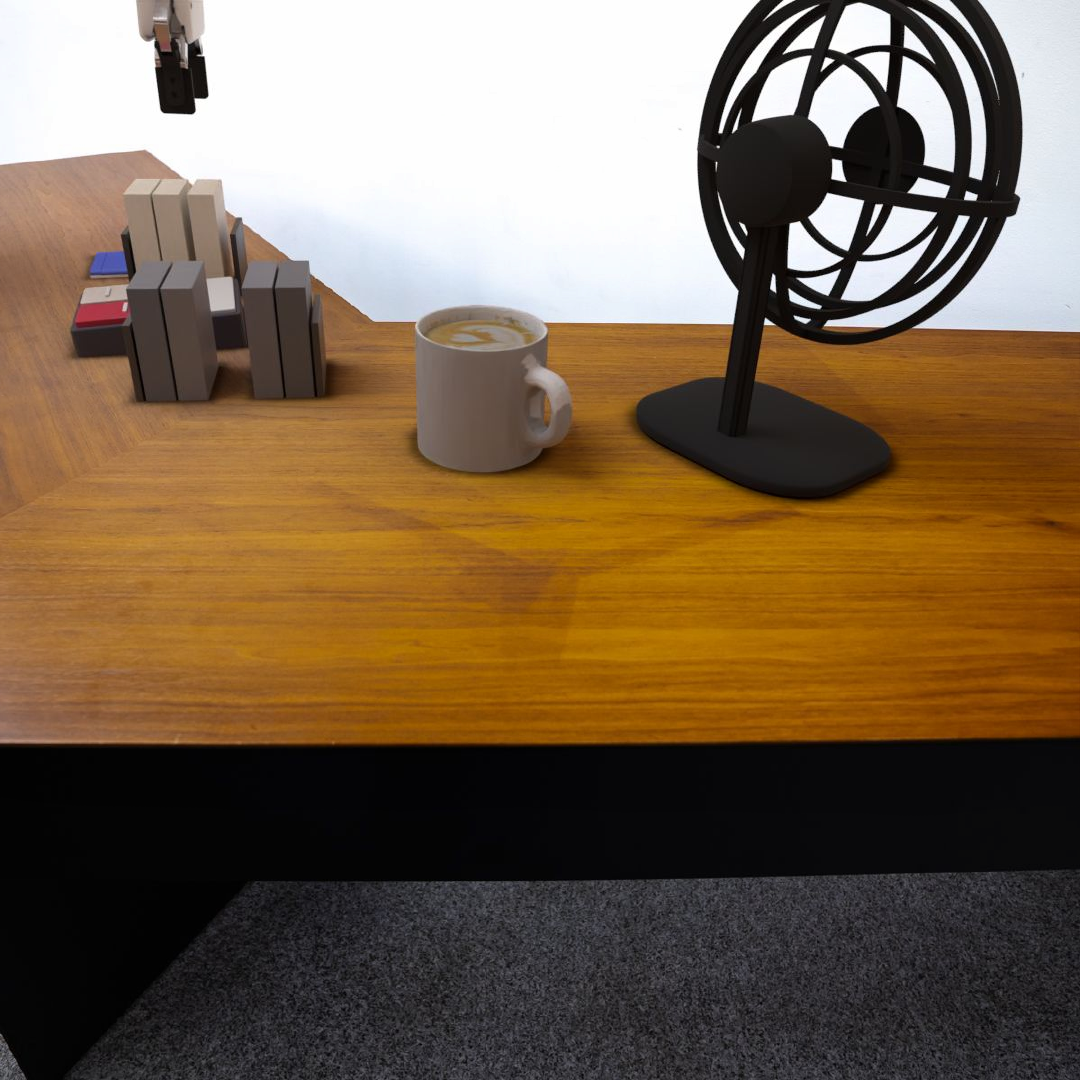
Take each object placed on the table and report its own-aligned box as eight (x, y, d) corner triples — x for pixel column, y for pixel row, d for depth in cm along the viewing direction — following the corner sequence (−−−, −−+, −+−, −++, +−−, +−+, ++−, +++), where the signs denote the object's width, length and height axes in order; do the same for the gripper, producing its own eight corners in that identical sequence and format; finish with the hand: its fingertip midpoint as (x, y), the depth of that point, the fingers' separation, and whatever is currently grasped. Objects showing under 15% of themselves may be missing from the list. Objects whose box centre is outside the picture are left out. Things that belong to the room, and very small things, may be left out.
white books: (132, 300, 104) (113, 193, 98) (144, 280, 110) (126, 178, 104) (243, 299, 106) (230, 194, 100) (249, 279, 112) (237, 179, 106)
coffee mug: (393, 439, 79) (389, 319, 73) (493, 410, 84) (495, 297, 79) (492, 508, 70) (495, 378, 65) (596, 471, 76) (606, 348, 70)
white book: (202, 300, 105) (186, 194, 99) (210, 280, 111) (196, 178, 105) (227, 300, 106) (213, 194, 100) (234, 280, 111) (221, 179, 106)
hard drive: (207, 246, 118) (96, 250, 115) (206, 266, 111) (89, 271, 108) (209, 260, 119) (99, 263, 116) (208, 280, 112) (91, 285, 109)
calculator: (78, 284, 96) (236, 270, 100) (90, 326, 99) (243, 311, 102) (66, 322, 88) (239, 305, 91) (79, 367, 90) (247, 349, 93)
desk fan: (970, 474, 78) (1130, -36, 59) (838, 543, 68) (979, -43, 50) (715, 366, 95) (776, -55, 77) (579, 408, 85) (613, -63, 67)
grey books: (137, 406, 82) (114, 288, 77) (152, 371, 88) (132, 260, 83) (324, 401, 85) (315, 287, 79) (326, 368, 91) (318, 260, 85)
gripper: (136, -100, 96) (161, 91, 105) (97, -103, 81) (129, 118, 90) (216, -94, 97) (233, 94, 106) (192, -96, 83) (214, 122, 92)
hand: (186, 105), depth 98 cm, fingers open, 9 cm apart
